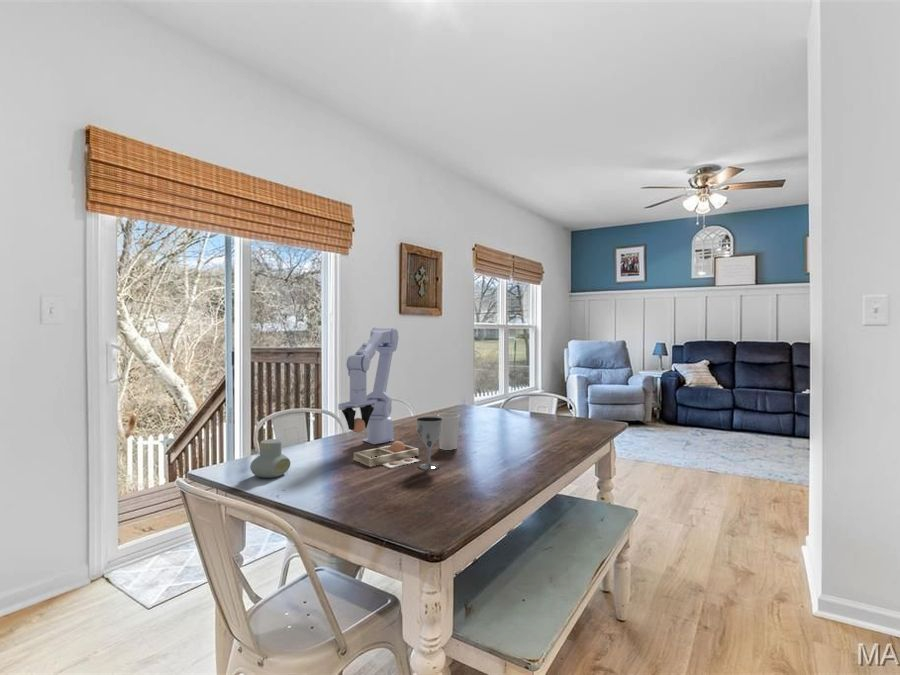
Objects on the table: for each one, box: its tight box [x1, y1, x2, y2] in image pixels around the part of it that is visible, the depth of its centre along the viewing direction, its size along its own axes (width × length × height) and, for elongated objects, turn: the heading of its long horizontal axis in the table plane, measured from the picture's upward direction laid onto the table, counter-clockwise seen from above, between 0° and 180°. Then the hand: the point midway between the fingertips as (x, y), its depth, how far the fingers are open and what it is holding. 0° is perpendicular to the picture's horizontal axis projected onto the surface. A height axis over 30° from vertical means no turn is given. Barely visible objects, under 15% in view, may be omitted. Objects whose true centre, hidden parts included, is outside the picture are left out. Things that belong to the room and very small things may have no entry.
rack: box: [353, 444, 422, 469], centre depth 155 cm, size 19×16×2 cm
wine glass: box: [416, 416, 442, 470], centre depth 148 cm, size 8×8×15 cm
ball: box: [390, 440, 406, 453], centre depth 160 cm, size 5×5×5 cm
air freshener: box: [249, 438, 291, 479], centre depth 138 cm, size 11×8×10 cm
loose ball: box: [352, 417, 366, 434], centre depth 165 cm, size 5×5×5 cm
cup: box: [436, 412, 461, 450], centre depth 171 cm, size 8×8×12 cm
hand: (357, 428), depth 165 cm, fingers closed on loose ball, 5 cm apart
